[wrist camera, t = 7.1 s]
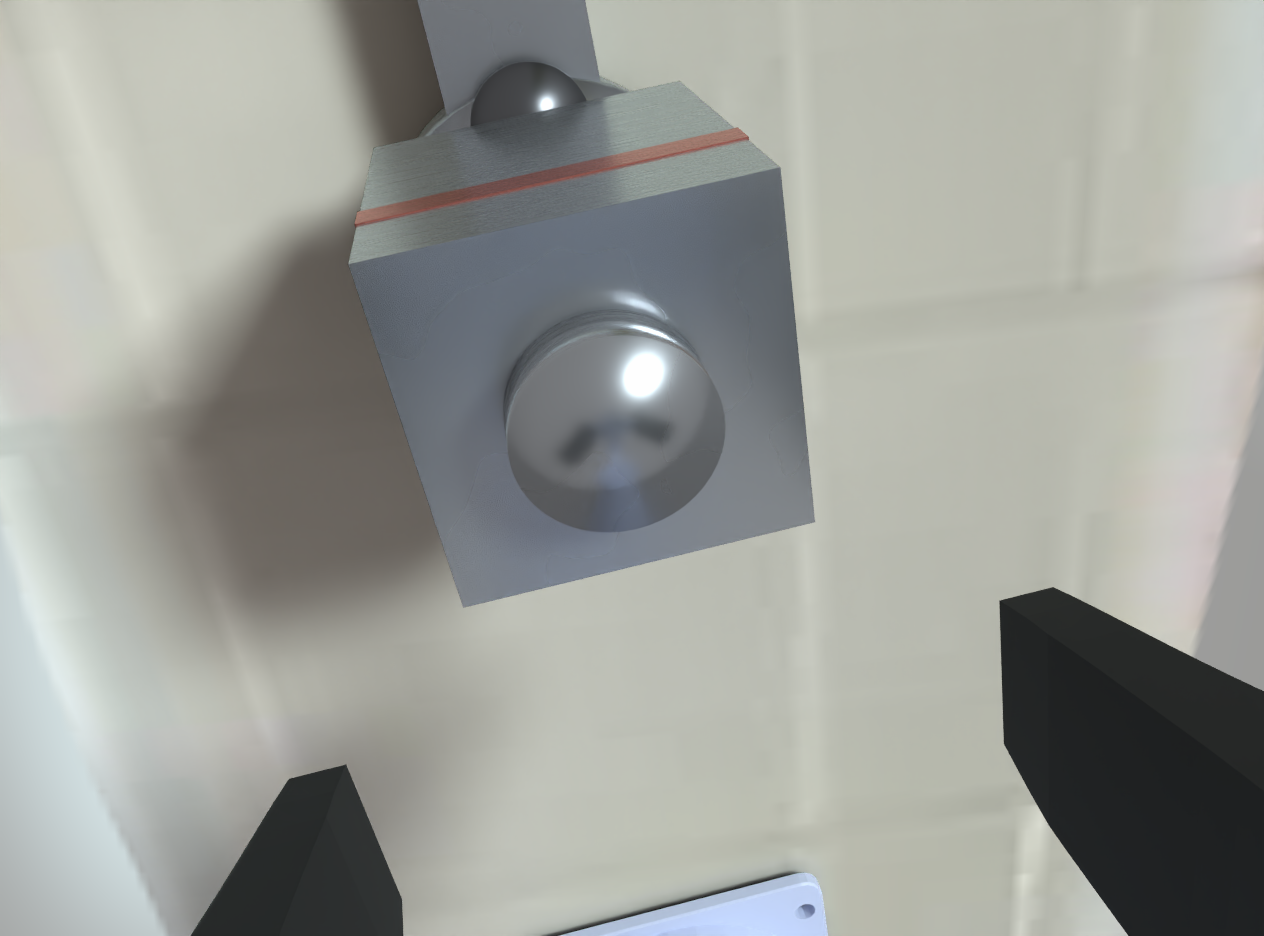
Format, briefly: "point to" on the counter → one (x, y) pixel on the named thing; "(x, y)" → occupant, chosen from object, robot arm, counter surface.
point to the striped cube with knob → (587, 336)
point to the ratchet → (509, 59)
